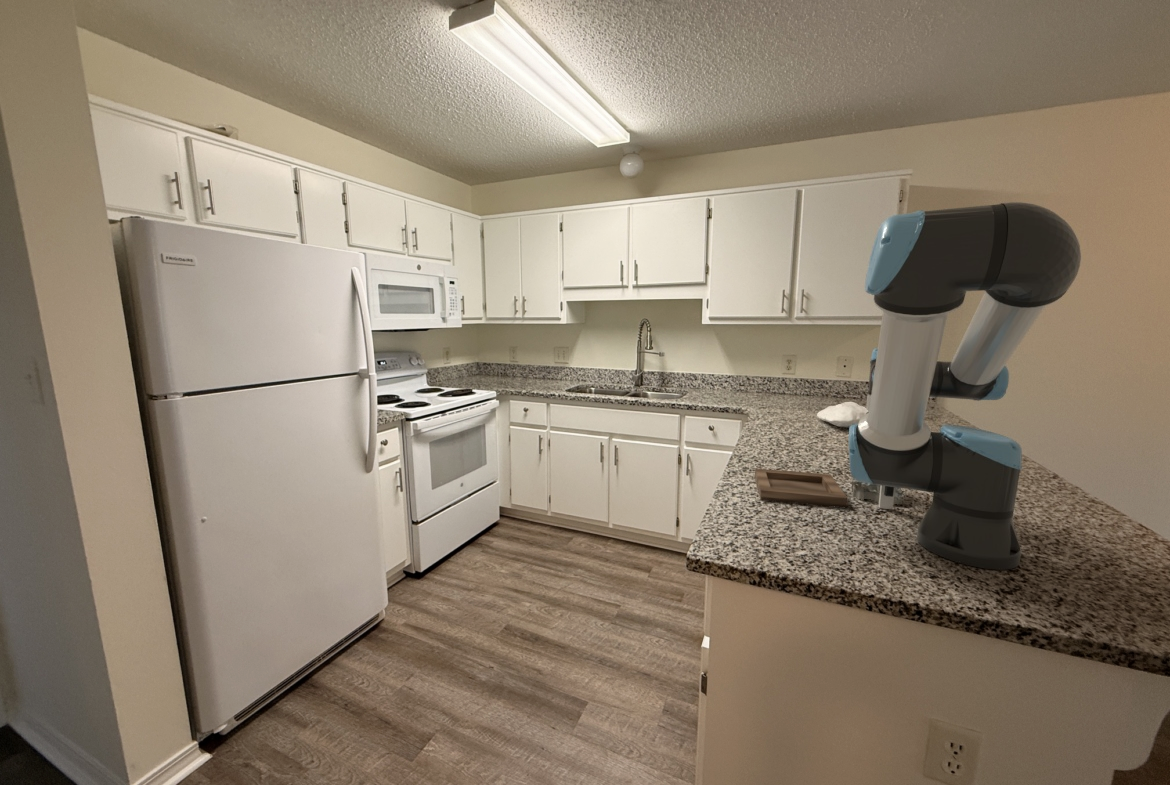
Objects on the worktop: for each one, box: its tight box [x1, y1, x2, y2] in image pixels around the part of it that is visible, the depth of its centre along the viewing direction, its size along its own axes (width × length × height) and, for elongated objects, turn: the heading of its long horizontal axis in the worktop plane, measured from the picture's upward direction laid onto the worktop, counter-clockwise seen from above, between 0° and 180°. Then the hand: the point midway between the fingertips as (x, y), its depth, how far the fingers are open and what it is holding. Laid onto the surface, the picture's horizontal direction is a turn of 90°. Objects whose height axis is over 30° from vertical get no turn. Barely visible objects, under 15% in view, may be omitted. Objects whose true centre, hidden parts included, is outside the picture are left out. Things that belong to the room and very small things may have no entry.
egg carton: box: [850, 479, 905, 505], centre depth 112 cm, size 11×8×4 cm
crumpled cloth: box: [816, 401, 869, 428], centre depth 189 cm, size 24×35×9 cm
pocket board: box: [754, 468, 849, 509], centre depth 117 cm, size 17×19×2 cm
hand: (875, 497), depth 112 cm, fingers open, 13 cm apart
